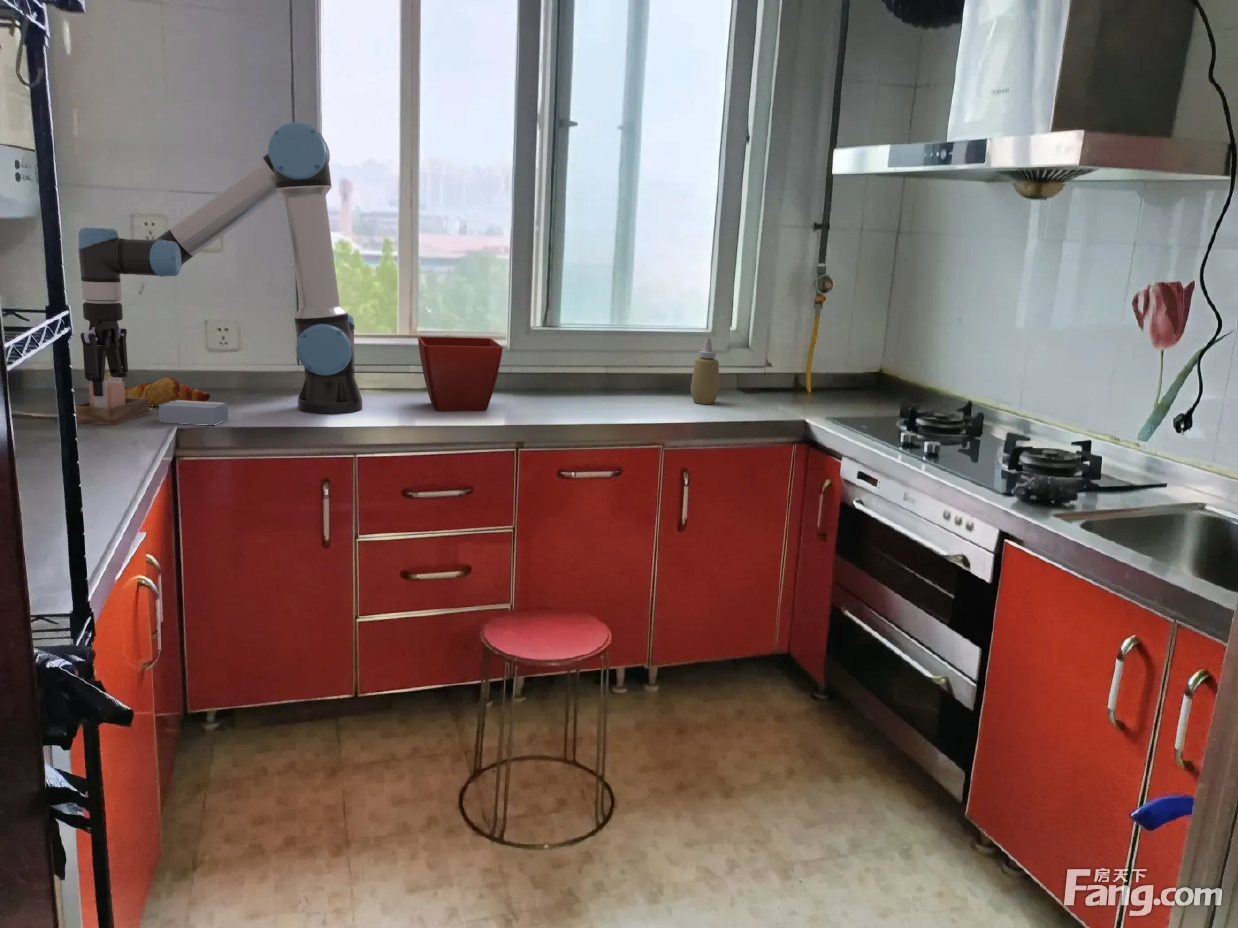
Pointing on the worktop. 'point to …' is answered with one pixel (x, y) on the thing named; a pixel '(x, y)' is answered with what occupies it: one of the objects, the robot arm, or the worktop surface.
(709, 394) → the squeeze bottle
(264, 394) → the worktop surface
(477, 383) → the plant pot
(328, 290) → the robot arm
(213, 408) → the grey flat block
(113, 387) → the pink block
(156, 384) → the croissant
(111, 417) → the tray
